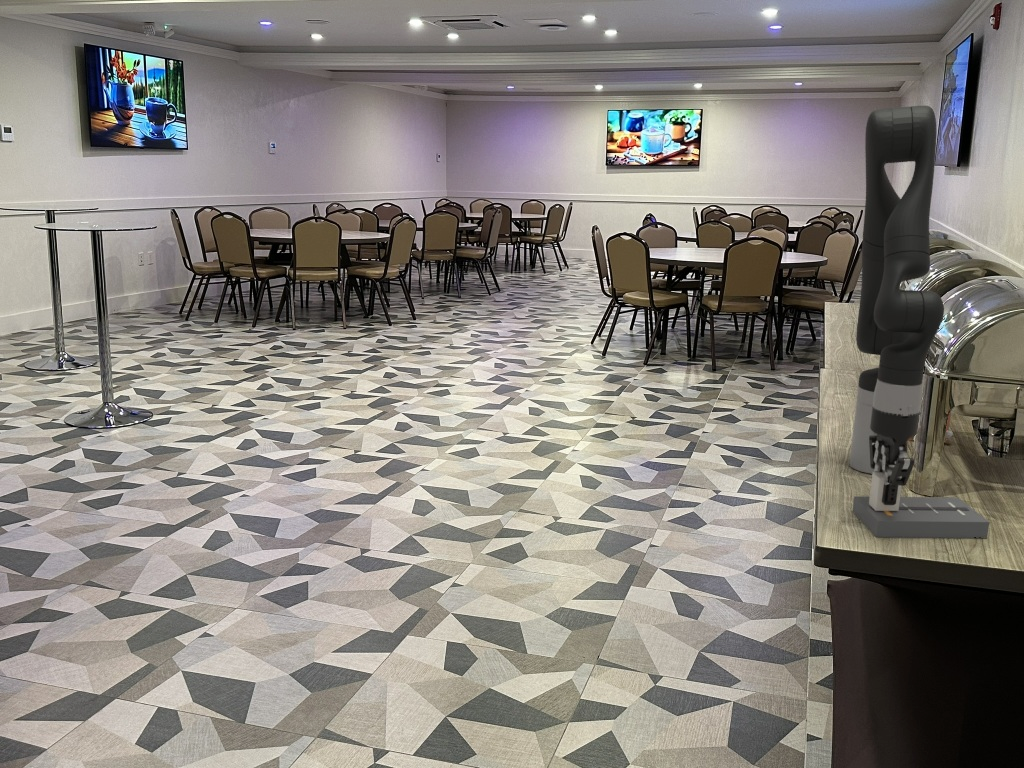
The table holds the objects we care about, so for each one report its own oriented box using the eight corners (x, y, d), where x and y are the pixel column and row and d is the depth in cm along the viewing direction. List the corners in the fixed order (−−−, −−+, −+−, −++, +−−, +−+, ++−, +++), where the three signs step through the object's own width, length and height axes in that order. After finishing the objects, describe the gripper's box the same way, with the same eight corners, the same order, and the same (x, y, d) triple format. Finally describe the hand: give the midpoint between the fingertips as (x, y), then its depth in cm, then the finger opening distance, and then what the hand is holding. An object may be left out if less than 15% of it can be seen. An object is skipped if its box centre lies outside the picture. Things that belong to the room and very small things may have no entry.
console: (852, 511, 162) (854, 495, 161) (955, 512, 162) (958, 496, 161) (876, 537, 151) (878, 520, 151) (986, 538, 151) (989, 521, 151)
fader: (868, 504, 157) (872, 470, 156) (891, 504, 157) (895, 470, 156) (875, 510, 154) (879, 476, 153) (898, 510, 154) (902, 477, 153)
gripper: (858, 395, 158) (848, 485, 162) (891, 418, 144) (879, 516, 149) (900, 395, 158) (889, 485, 162) (937, 418, 144) (923, 516, 149)
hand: (884, 499), depth 155 cm, fingers closed on fader, 3 cm apart
